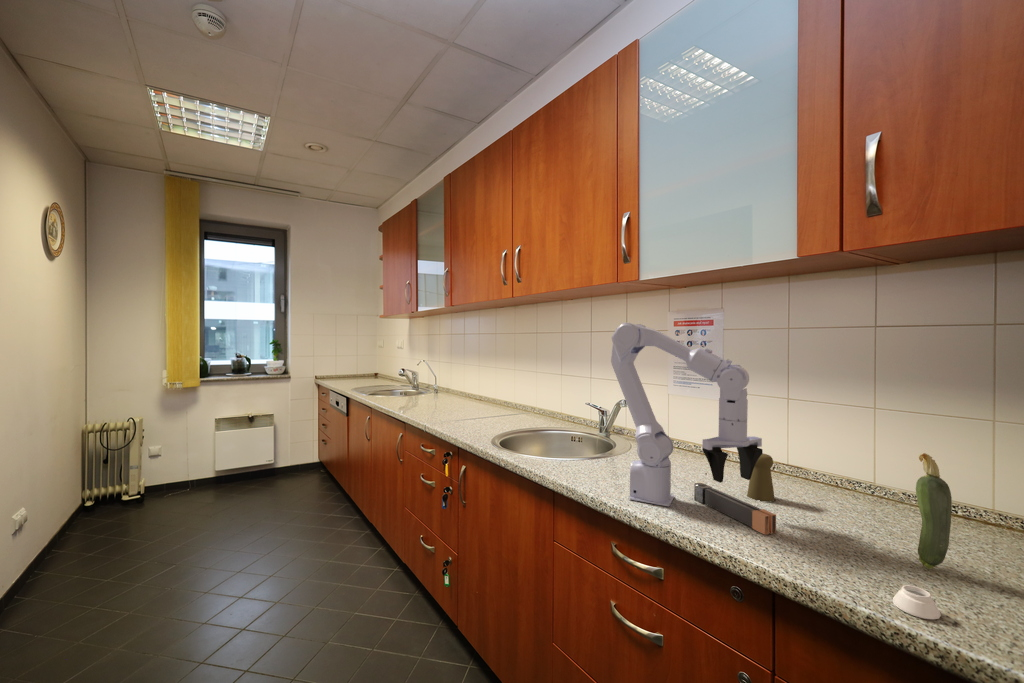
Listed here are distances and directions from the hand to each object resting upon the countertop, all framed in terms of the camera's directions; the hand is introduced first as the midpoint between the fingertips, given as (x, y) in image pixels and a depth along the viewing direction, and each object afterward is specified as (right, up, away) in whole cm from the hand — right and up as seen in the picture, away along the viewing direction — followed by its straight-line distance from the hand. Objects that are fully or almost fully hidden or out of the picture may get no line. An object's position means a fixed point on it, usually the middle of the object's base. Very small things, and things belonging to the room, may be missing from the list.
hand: (731, 479), depth 97 cm
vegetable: (+23, -9, -23) cm, 33 cm away
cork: (+13, -9, +12) cm, 20 cm away
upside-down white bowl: (+10, -9, -34) cm, 36 cm away
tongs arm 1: (0, -8, -2) cm, 8 cm away
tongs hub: (-3, -8, +9) cm, 12 cm away
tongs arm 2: (+1, -8, -1) cm, 8 cm away
